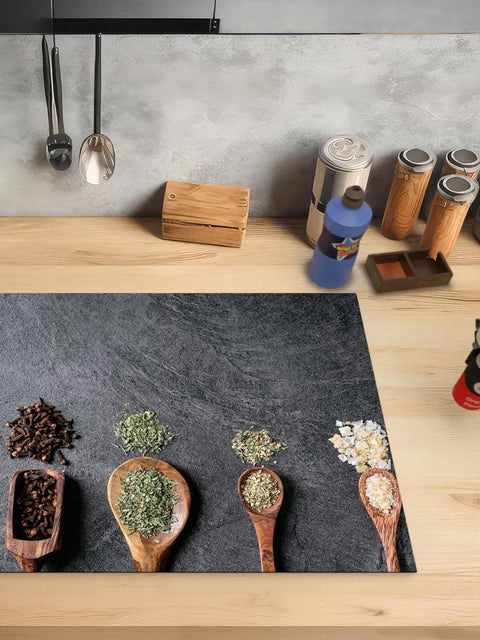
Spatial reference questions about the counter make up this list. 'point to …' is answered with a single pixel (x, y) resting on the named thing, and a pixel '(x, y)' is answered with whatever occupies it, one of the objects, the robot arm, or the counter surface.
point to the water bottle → (340, 238)
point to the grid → (407, 270)
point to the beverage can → (469, 386)
